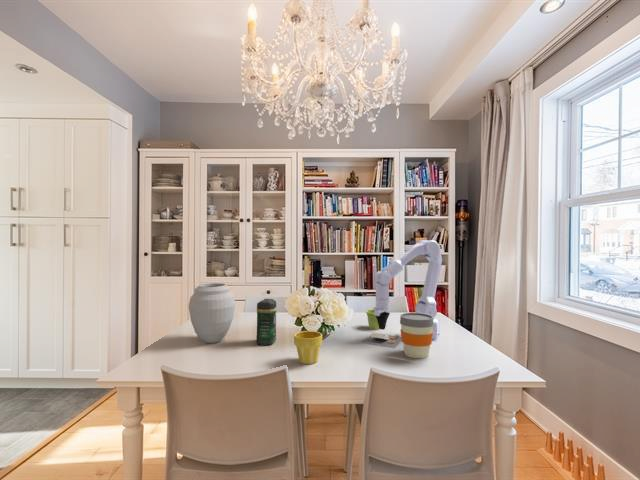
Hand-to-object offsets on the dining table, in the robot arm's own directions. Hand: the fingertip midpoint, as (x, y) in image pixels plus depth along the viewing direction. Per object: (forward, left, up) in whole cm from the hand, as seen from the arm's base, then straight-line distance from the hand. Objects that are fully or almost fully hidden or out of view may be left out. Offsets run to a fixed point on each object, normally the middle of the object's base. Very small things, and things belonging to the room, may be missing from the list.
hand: (382, 329), depth 152 cm
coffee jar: (+42, +28, -5) cm, 51 cm away
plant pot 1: (+15, +38, -5) cm, 41 cm away
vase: (+64, +38, -5) cm, 75 cm away
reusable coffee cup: (-18, +12, -5) cm, 22 cm away
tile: (0, 0, -3) cm, 4 cm away
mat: (-1, +1, -5) cm, 5 cm away
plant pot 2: (+9, -16, -5) cm, 19 cm away
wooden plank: (-5, -1, -4) cm, 7 cm away
